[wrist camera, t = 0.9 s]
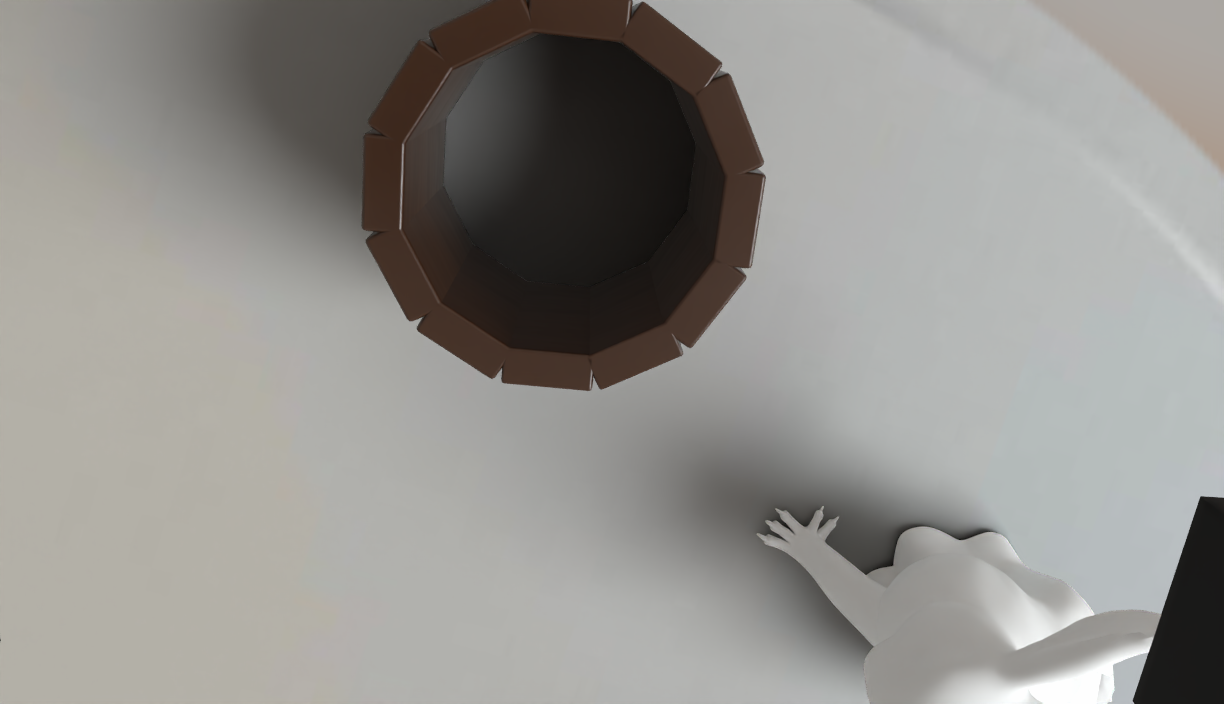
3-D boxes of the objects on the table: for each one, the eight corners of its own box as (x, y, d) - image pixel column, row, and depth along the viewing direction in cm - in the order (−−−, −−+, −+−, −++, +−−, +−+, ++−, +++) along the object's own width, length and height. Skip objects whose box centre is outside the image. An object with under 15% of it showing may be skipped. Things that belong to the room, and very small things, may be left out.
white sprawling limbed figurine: (749, 526, 30) (819, 748, 21) (939, 370, 28) (1106, 535, 19) (974, 744, 33) (1123, 1022, 24) (1158, 614, 31) (1393, 858, 22)
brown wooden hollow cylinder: (355, 82, 25) (285, 98, 19) (650, -60, 24) (668, -86, 18) (498, 359, 28) (474, 444, 22) (769, 241, 27) (818, 298, 21)
